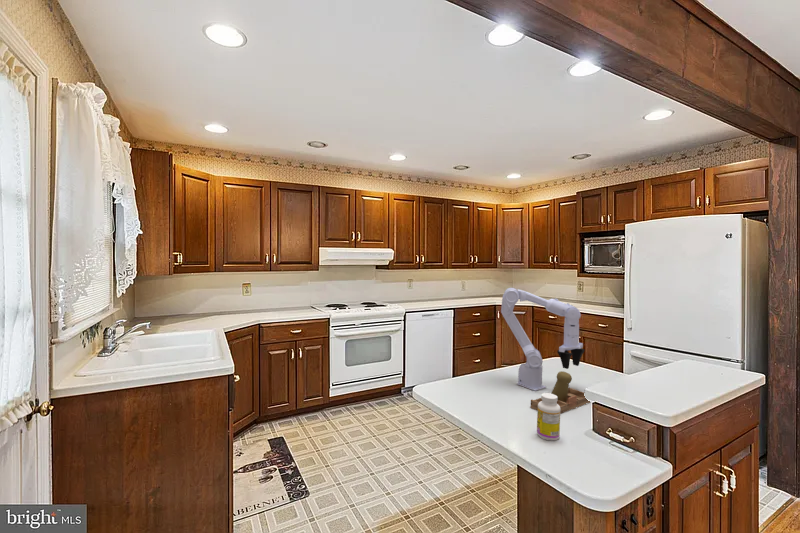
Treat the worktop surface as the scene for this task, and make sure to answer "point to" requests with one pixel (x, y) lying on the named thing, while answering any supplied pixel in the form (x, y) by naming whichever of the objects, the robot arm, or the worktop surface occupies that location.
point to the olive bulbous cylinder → (562, 386)
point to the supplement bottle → (548, 417)
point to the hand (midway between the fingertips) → (570, 366)
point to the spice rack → (573, 401)
